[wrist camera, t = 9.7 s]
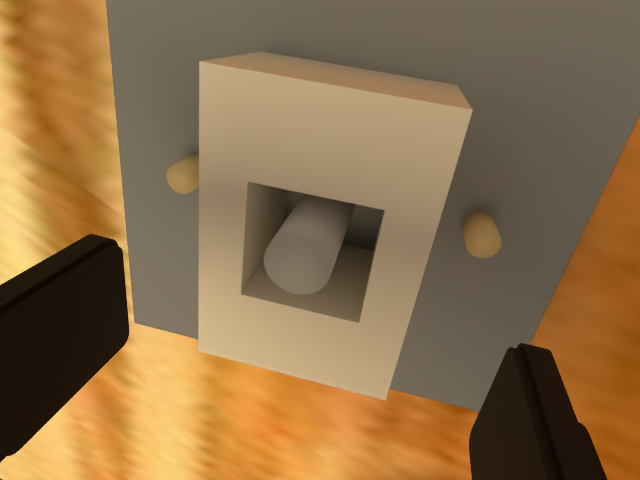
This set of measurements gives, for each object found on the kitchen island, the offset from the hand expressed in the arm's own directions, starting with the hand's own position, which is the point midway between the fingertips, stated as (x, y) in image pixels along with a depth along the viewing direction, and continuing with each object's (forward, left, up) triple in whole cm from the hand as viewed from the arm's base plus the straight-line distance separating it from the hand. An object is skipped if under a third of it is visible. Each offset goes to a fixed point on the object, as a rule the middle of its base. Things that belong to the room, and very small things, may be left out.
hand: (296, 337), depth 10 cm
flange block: (+1, 0, -8) cm, 8 cm away
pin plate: (+1, 0, -10) cm, 10 cm away
